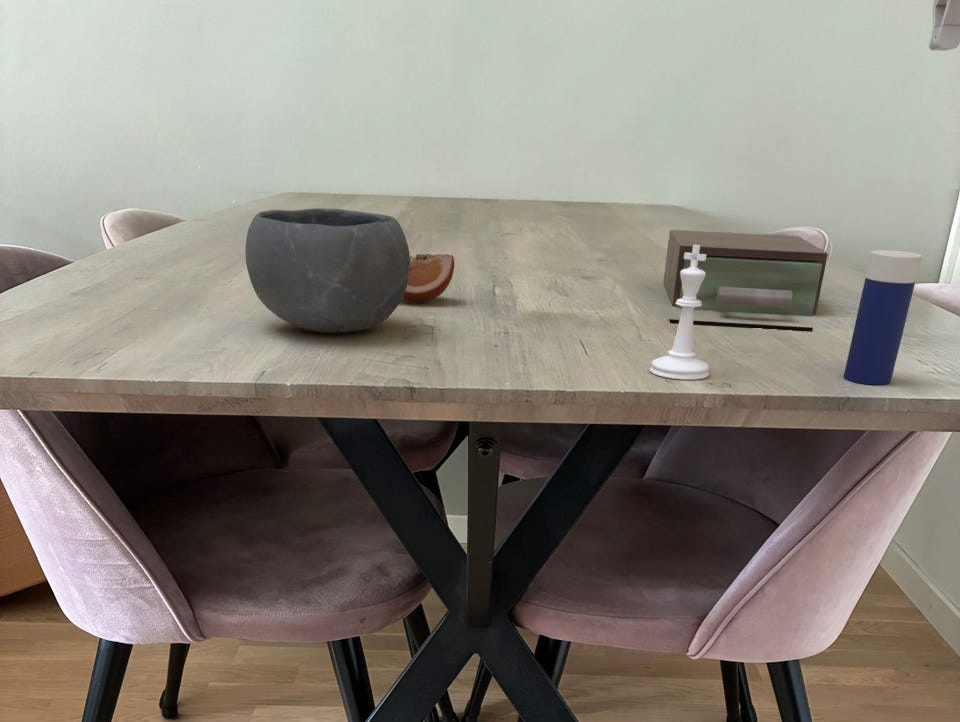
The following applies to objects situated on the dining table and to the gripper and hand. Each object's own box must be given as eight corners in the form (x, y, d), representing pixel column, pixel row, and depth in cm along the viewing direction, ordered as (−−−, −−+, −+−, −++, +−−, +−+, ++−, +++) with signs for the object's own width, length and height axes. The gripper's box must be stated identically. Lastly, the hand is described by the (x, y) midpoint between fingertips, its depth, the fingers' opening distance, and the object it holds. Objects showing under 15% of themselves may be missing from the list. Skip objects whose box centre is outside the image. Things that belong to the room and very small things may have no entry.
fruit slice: (372, 303, 103) (371, 254, 101) (384, 293, 109) (384, 246, 107) (448, 308, 102) (449, 258, 100) (457, 297, 108) (458, 250, 106)
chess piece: (662, 363, 83) (678, 239, 78) (716, 371, 81) (736, 245, 76) (640, 373, 79) (655, 244, 75) (697, 383, 77) (716, 251, 72)
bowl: (440, 327, 93) (442, 216, 88) (346, 354, 82) (342, 227, 77) (320, 309, 99) (316, 204, 94) (218, 330, 88) (207, 212, 83)
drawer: (819, 333, 93) (832, 270, 90) (681, 325, 94) (689, 262, 91) (785, 301, 110) (795, 246, 107) (668, 294, 111) (675, 240, 108)
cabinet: (812, 332, 98) (828, 253, 95) (670, 323, 99) (680, 245, 96) (786, 305, 112) (799, 236, 108) (661, 298, 113) (669, 229, 109)
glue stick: (884, 375, 82) (914, 251, 77) (896, 386, 79) (928, 257, 74) (838, 372, 83) (865, 248, 78) (848, 383, 79) (877, 255, 74)
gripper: (913, -119, 89) (877, 54, 96) (992, -178, 71) (941, 40, 78) (983, -117, 88) (942, 57, 95) (1080, -176, 71) (1021, 43, 77)
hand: (942, 49), depth 86 cm, fingers closed
